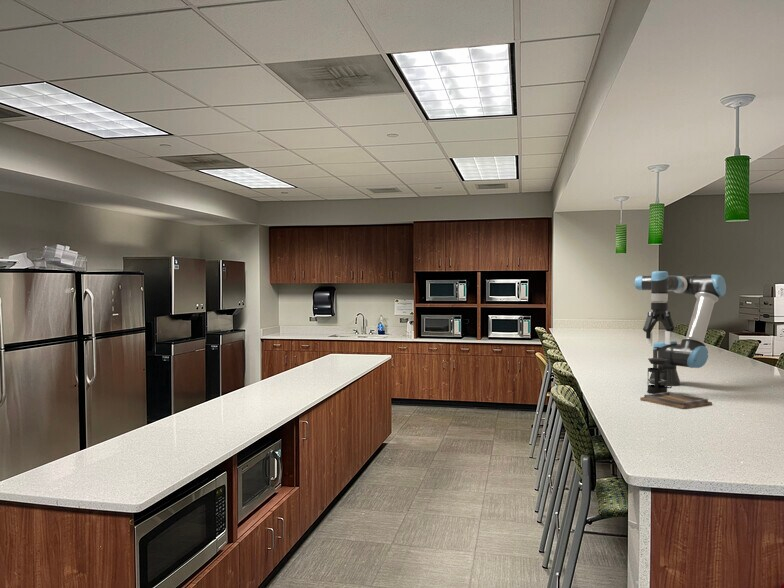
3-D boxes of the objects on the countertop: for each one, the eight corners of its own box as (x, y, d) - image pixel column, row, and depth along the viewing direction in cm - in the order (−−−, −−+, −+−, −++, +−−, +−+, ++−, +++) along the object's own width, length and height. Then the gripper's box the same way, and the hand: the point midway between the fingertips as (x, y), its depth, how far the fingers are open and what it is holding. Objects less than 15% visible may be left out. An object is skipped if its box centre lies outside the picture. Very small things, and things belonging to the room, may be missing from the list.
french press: (644, 393, 287) (645, 347, 287) (646, 390, 295) (647, 345, 295) (670, 395, 281) (671, 348, 281) (672, 392, 289) (672, 346, 289)
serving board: (668, 396, 280) (668, 391, 280) (711, 404, 260) (712, 399, 260) (640, 400, 270) (640, 394, 270) (683, 409, 251) (683, 403, 251)
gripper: (669, 301, 296) (668, 343, 297) (635, 302, 285) (635, 345, 285) (682, 302, 290) (681, 344, 290) (648, 302, 278) (648, 346, 278)
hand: (658, 344), depth 288 cm, fingers open, 13 cm apart
